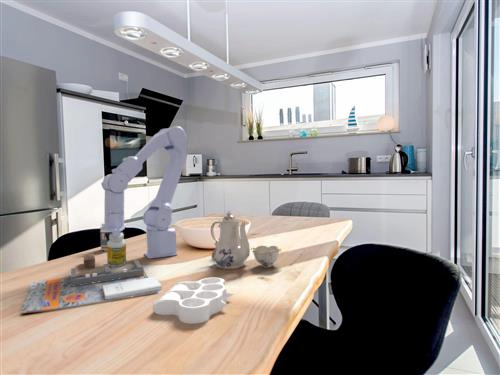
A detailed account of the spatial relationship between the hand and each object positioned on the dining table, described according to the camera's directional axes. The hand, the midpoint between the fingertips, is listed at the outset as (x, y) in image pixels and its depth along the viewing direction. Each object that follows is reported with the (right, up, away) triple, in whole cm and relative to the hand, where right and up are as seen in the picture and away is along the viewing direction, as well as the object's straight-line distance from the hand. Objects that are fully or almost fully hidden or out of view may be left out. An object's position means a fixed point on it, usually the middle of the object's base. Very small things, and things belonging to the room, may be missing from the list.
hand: (114, 255), depth 107 cm
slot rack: (+3, -3, -12) cm, 13 cm away
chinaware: (+39, -2, -3) cm, 39 cm away
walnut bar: (-7, -3, -2) cm, 8 cm away
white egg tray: (+31, -4, -35) cm, 47 cm away
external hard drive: (+14, -4, -24) cm, 28 cm away
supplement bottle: (+1, -2, -2) cm, 3 cm away
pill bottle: (-10, -2, +20) cm, 22 cm away
